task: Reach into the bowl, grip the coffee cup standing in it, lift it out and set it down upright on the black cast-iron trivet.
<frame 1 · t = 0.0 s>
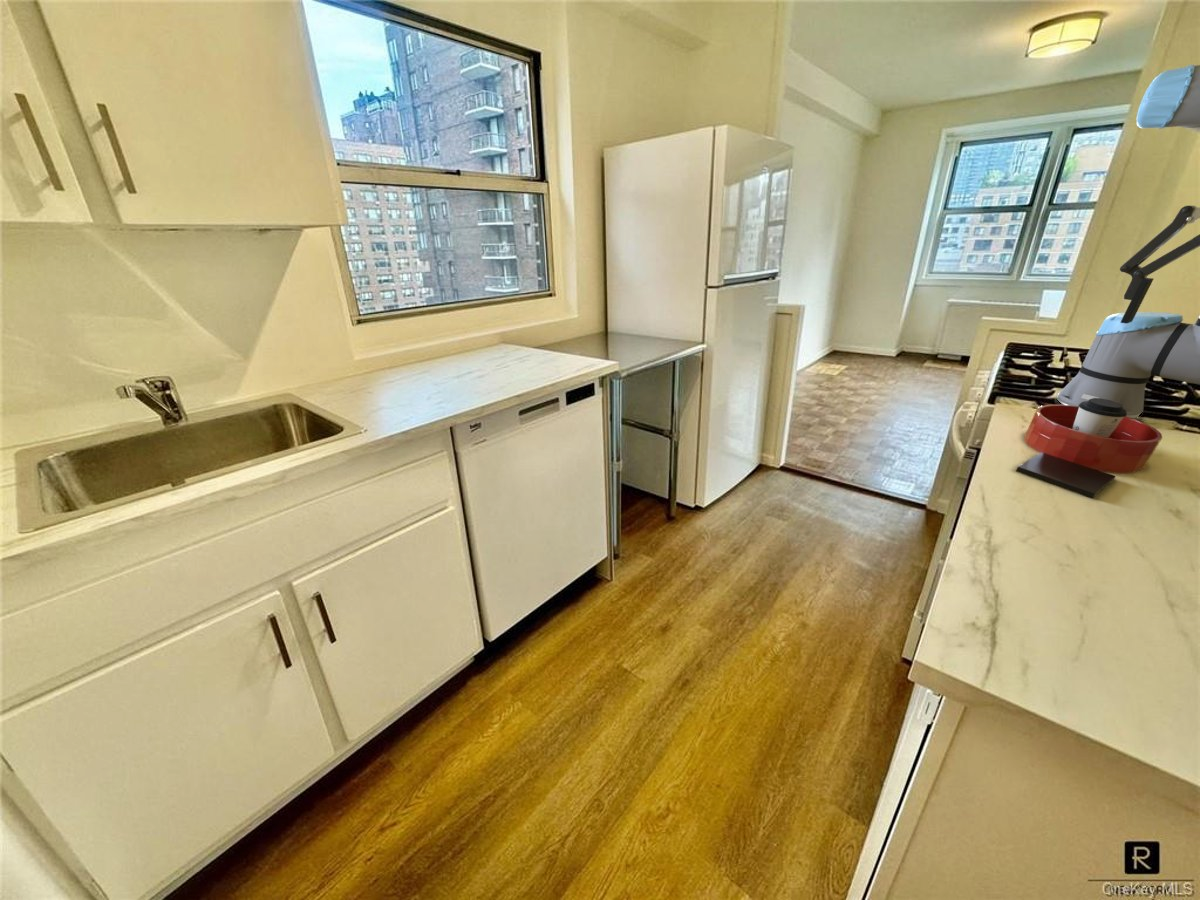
hand: (1188, 331, 71), 28 cm above the worktop, tool pointing down, fingers open, 13 cm apart
trivet: (1063, 475, 89), on the worktop
coffee cup: (1081, 449, 98), resting on bowl
bowl: (1080, 450, 98), on the worktop
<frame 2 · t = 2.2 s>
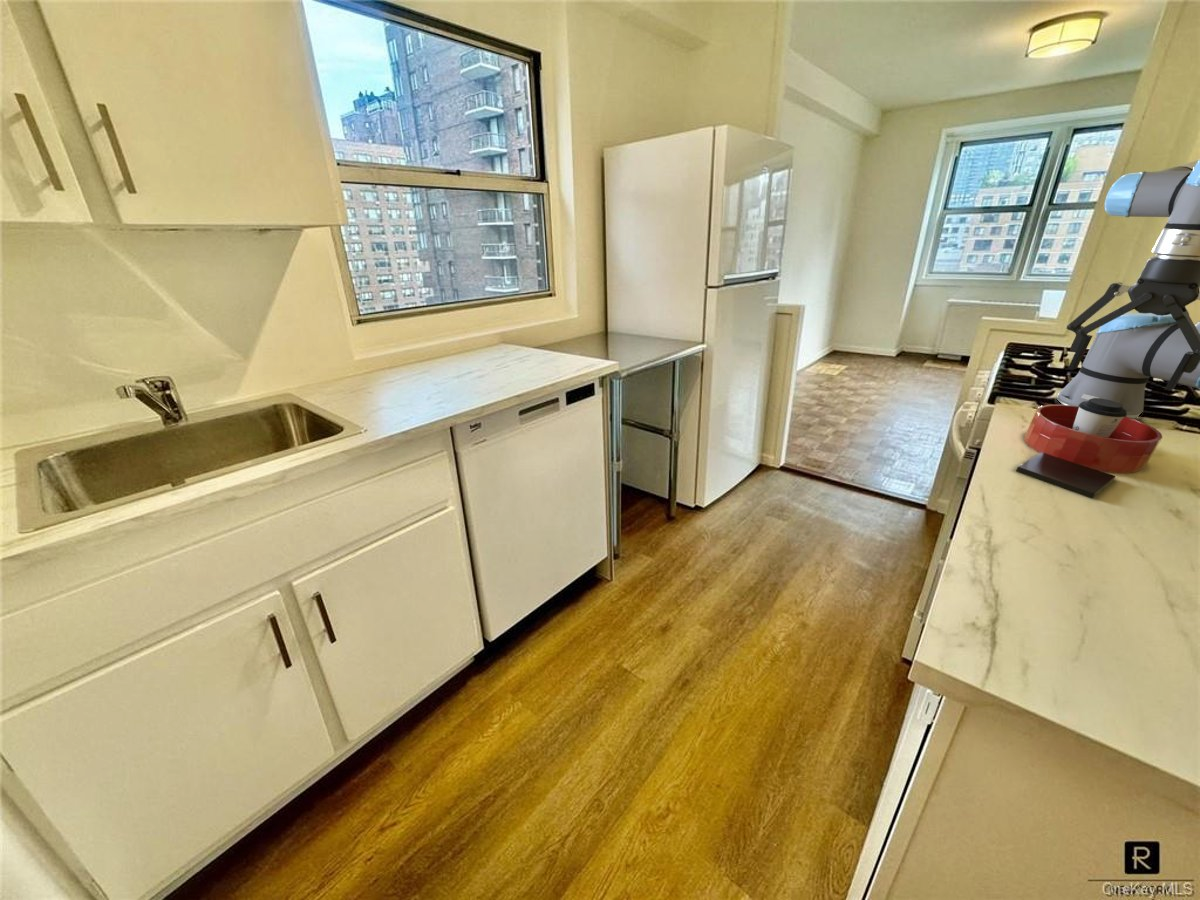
hand: (1117, 378, 91), 15 cm above the worktop, tool pointing down, fingers open, 13 cm apart
nothing on the worktop moved.
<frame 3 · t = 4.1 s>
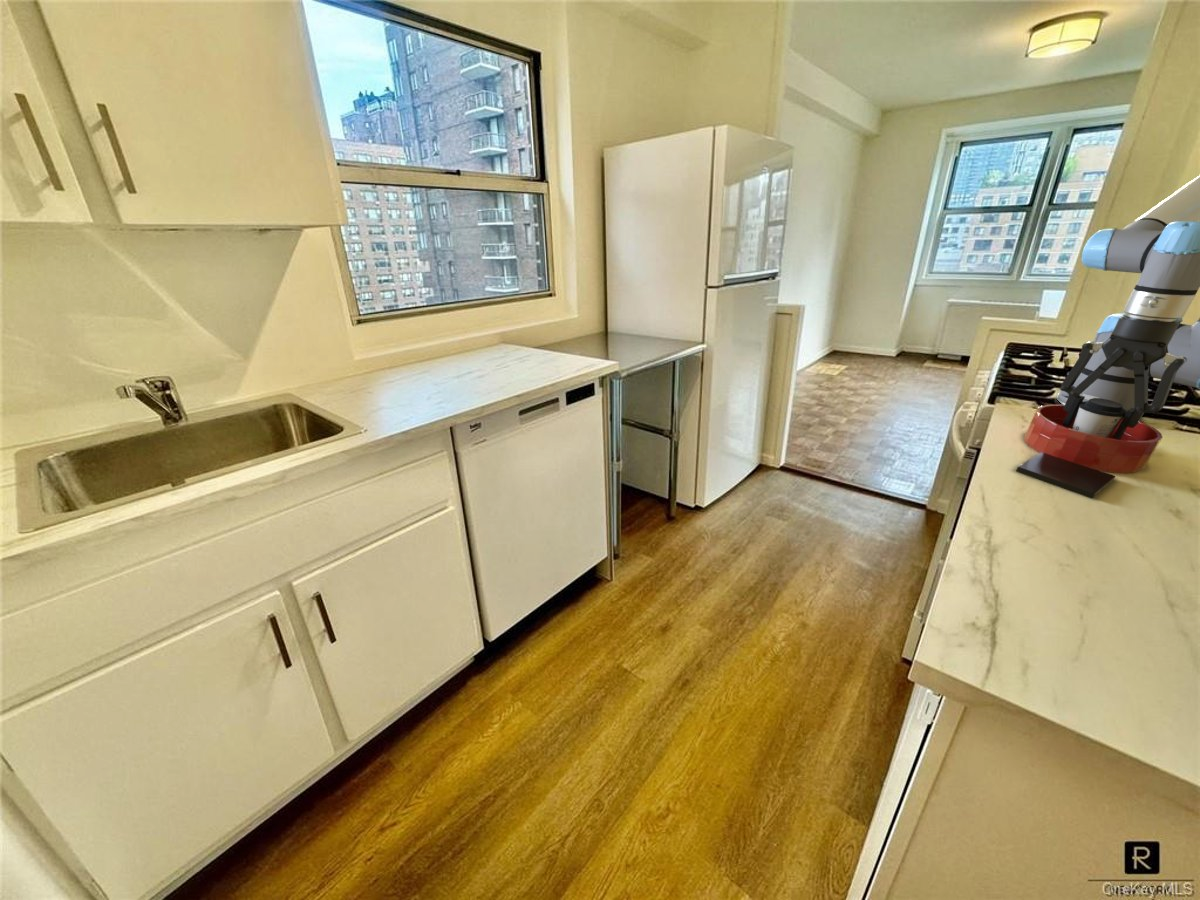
hand: (1089, 433, 96), 4 cm above the worktop, tool pointing down, fingers closed on coffee cup, 7 cm apart
coffee cup: (1081, 449, 98), resting on bowl, touching gripper
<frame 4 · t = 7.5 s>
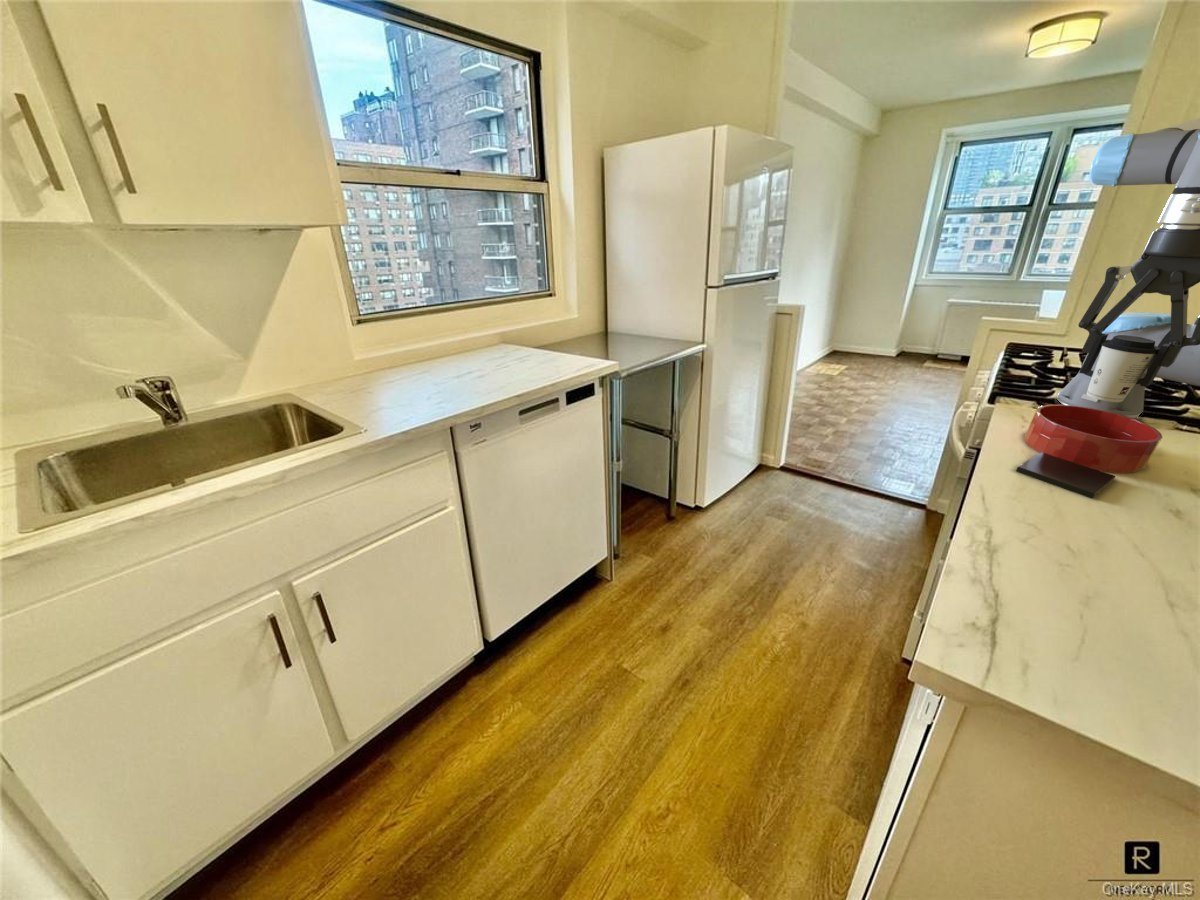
hand: (1114, 378, 81), 19 cm above the worktop, tool pointing down, fingers closed on coffee cup, 7 cm apart
coffee cup: (1103, 398, 82), point 15 cm above the worktop, touching gripper
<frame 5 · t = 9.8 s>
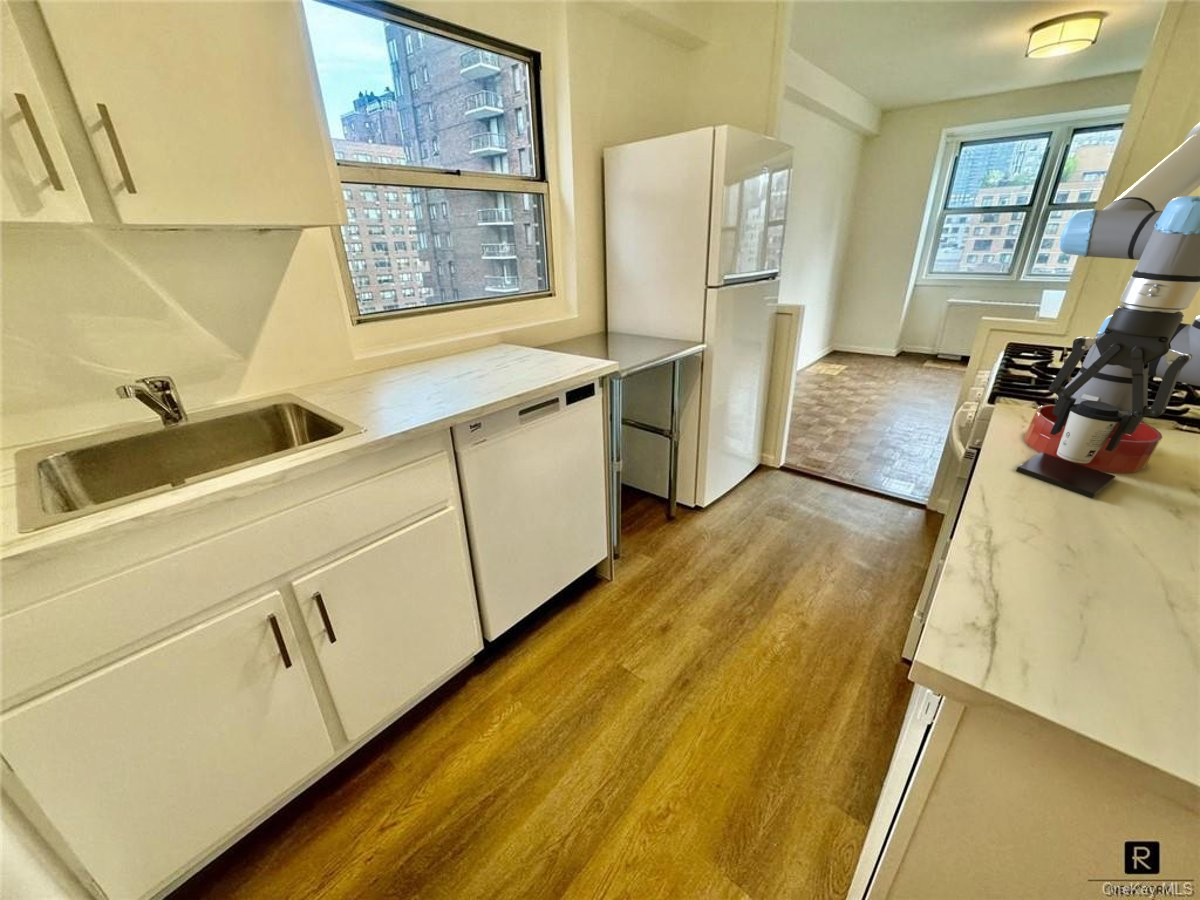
hand: (1081, 440, 85), 7 cm above the worktop, tool pointing down, fingers closed on coffee cup, 7 cm apart
coffee cup: (1072, 458, 87), point 4 cm above the worktop, touching gripper
when the fingers open (4 cm above the worktop, at t = 11.0 s): coffee cup stays where it is, resting on trivet.
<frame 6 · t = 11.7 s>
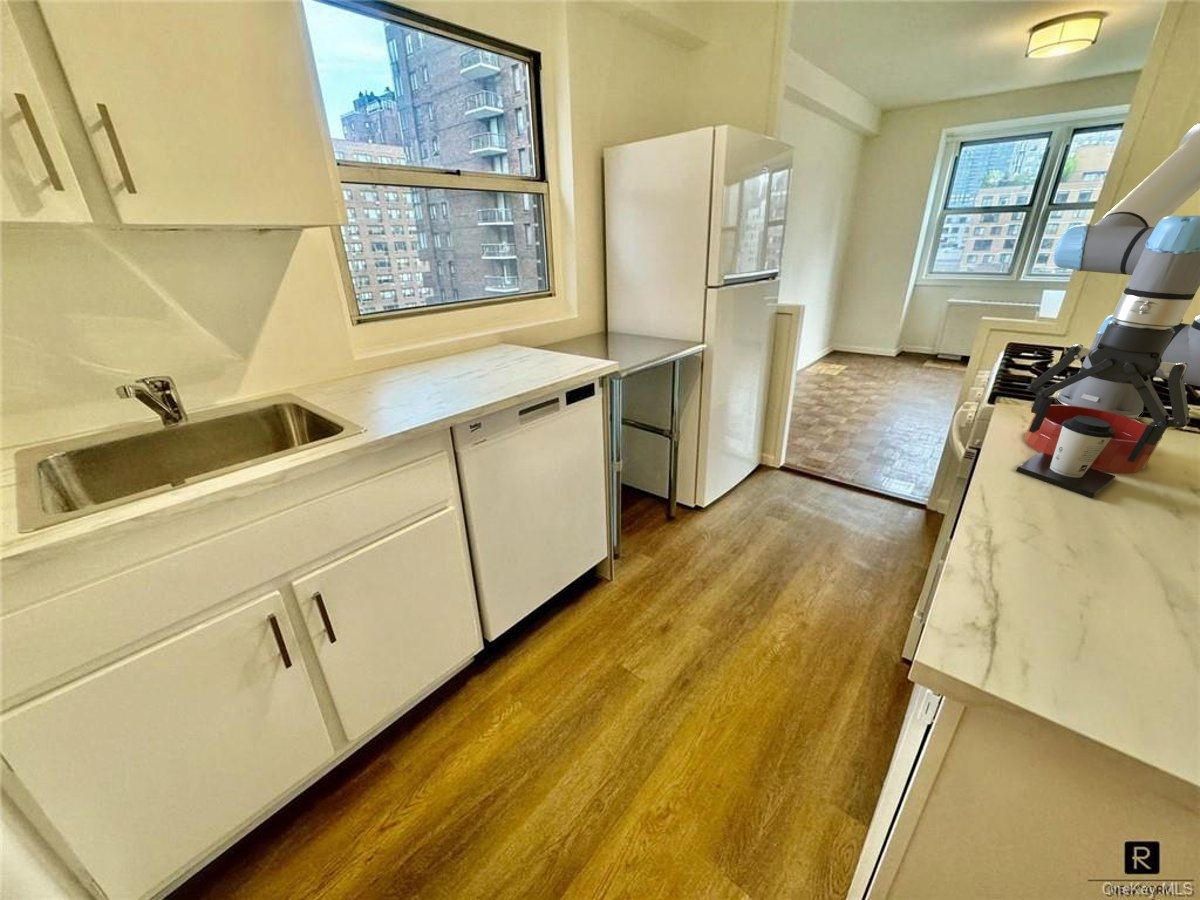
hand: (1080, 444, 86), 7 cm above the worktop, tool pointing down, fingers open, 13 cm apart
coffee cup: (1065, 472, 88), point 1 cm above the worktop, touching trivet
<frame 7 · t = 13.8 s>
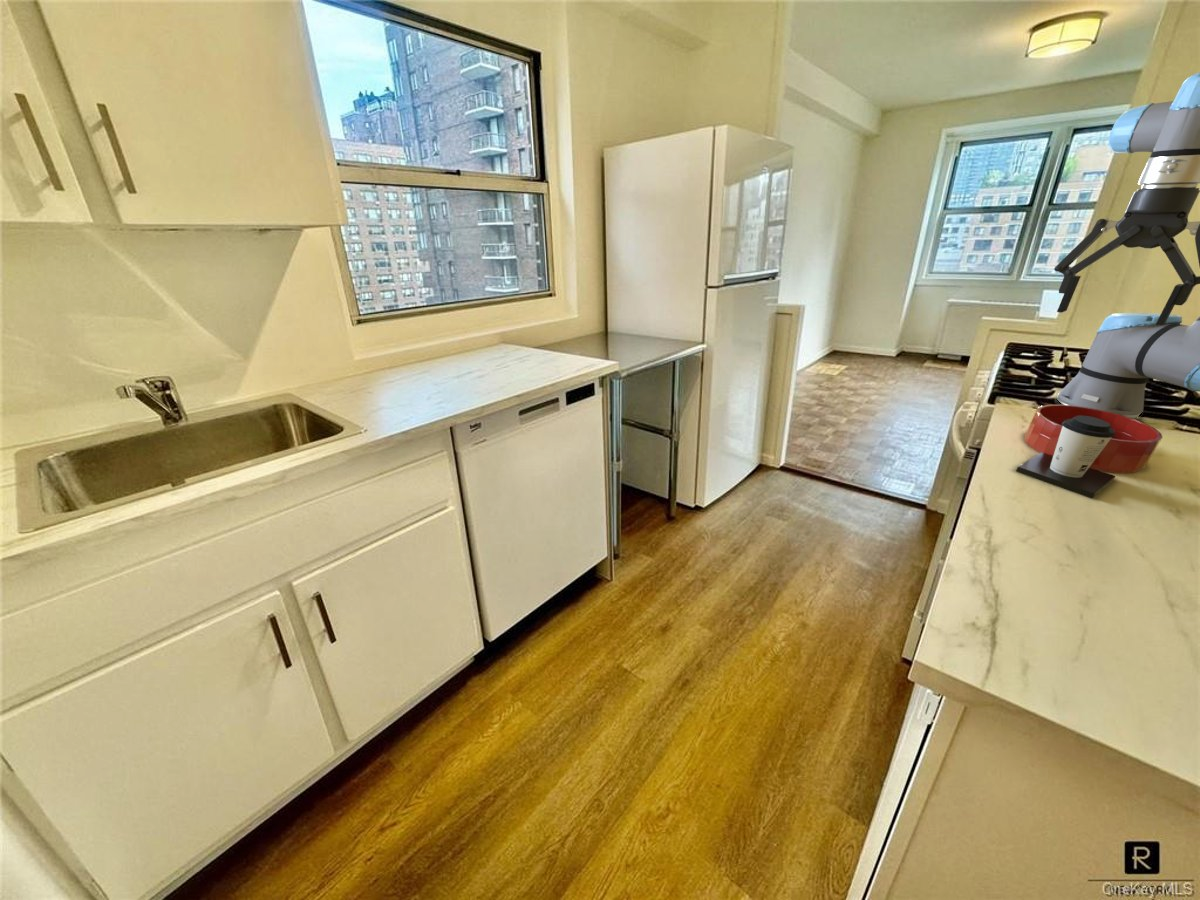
hand: (1108, 317, 89), 26 cm above the worktop, tool pointing down, fingers open, 13 cm apart
nothing on the worktop moved.
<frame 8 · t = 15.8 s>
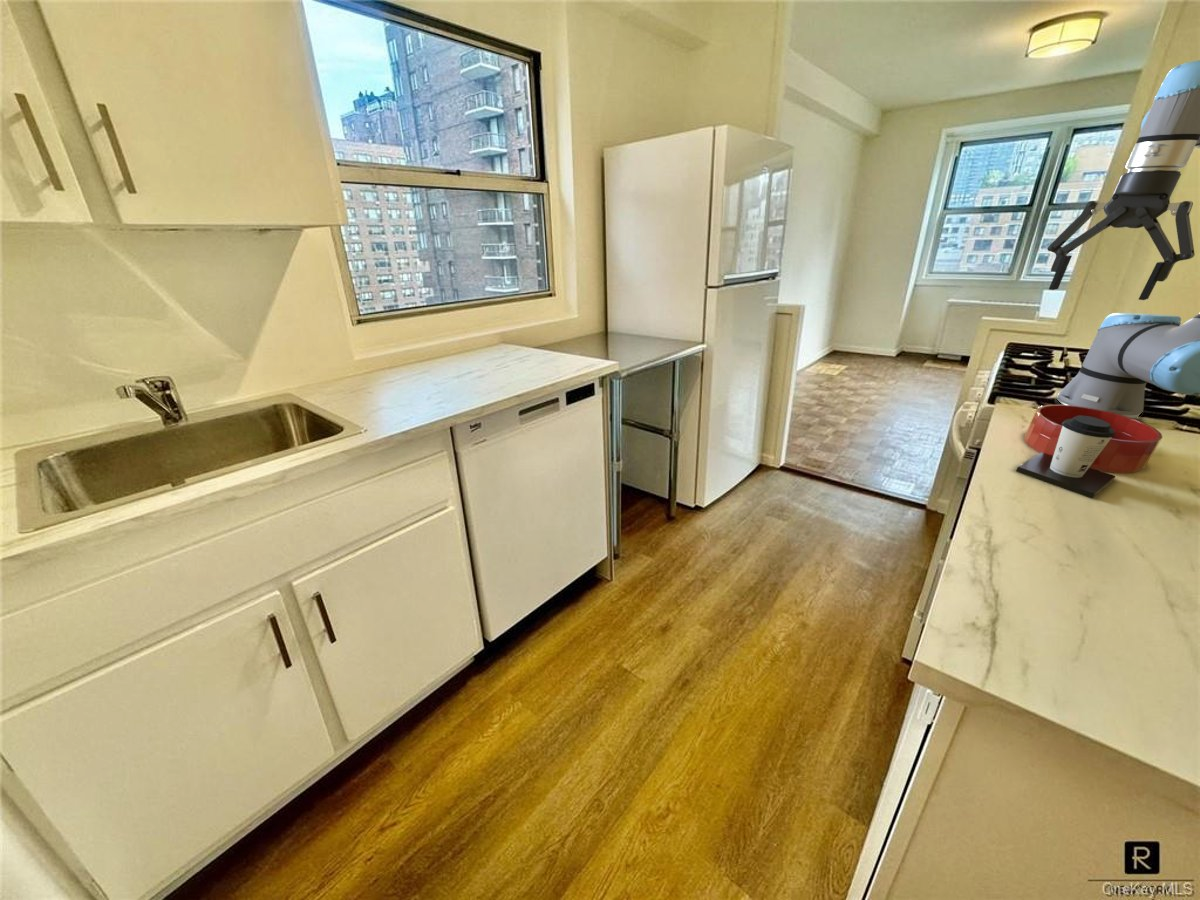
hand: (1095, 294, 96), 29 cm above the worktop, tool pointing down, fingers open, 13 cm apart
nothing on the worktop moved.
at the end: coffee cup inside the target area on the trivet (0.0 cm from its centre), point 0.8 cm above the trivet's base; coffee cup tilted 0°; the gripper is holding nothing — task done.
